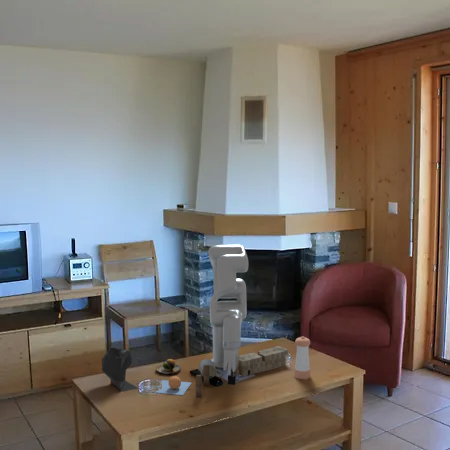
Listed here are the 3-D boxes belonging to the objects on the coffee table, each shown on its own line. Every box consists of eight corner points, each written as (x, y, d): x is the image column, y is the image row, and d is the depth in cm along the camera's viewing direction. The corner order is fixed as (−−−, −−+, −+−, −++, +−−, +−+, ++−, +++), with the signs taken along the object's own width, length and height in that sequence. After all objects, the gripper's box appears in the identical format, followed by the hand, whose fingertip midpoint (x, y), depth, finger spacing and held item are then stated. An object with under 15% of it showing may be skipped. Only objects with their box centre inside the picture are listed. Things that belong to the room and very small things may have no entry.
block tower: (240, 379, 260) (288, 365, 276) (240, 362, 259) (288, 348, 275) (230, 374, 267) (278, 360, 283) (230, 357, 266) (278, 344, 282)
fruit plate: (154, 368, 272) (153, 353, 271) (177, 366, 276) (177, 351, 275) (159, 377, 261) (158, 362, 260) (183, 374, 264) (183, 359, 264)
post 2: (204, 383, 253) (204, 364, 252) (209, 384, 252) (209, 364, 251) (202, 385, 250) (202, 366, 249) (208, 386, 250) (208, 366, 249)
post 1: (196, 394, 240) (196, 374, 239) (202, 395, 240) (202, 374, 239) (195, 397, 238) (195, 376, 237) (201, 397, 237) (201, 377, 236)
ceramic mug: (201, 380, 256) (201, 364, 256) (198, 374, 264) (199, 359, 263) (223, 379, 259) (223, 363, 258) (220, 372, 266) (220, 357, 265)
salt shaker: (305, 372, 266) (305, 333, 264) (313, 378, 259) (313, 337, 257) (291, 374, 263) (292, 335, 261) (299, 380, 257) (299, 339, 255)
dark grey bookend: (129, 376, 261) (129, 339, 259) (139, 388, 247) (138, 348, 245) (99, 381, 255) (98, 343, 253) (107, 393, 241) (106, 353, 239)
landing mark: (162, 380, 256) (162, 380, 256) (191, 383, 253) (191, 382, 253) (151, 392, 243) (151, 392, 243) (182, 395, 240) (182, 394, 240)
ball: (177, 372, 249) (184, 382, 249) (168, 379, 250) (175, 389, 249) (174, 375, 244) (181, 386, 243) (164, 382, 245) (171, 393, 244)
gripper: (227, 337, 248) (226, 376, 251) (219, 349, 234) (219, 390, 236) (243, 338, 247) (243, 378, 249) (236, 350, 232) (236, 392, 235)
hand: (231, 384), depth 243 cm, fingers closed
